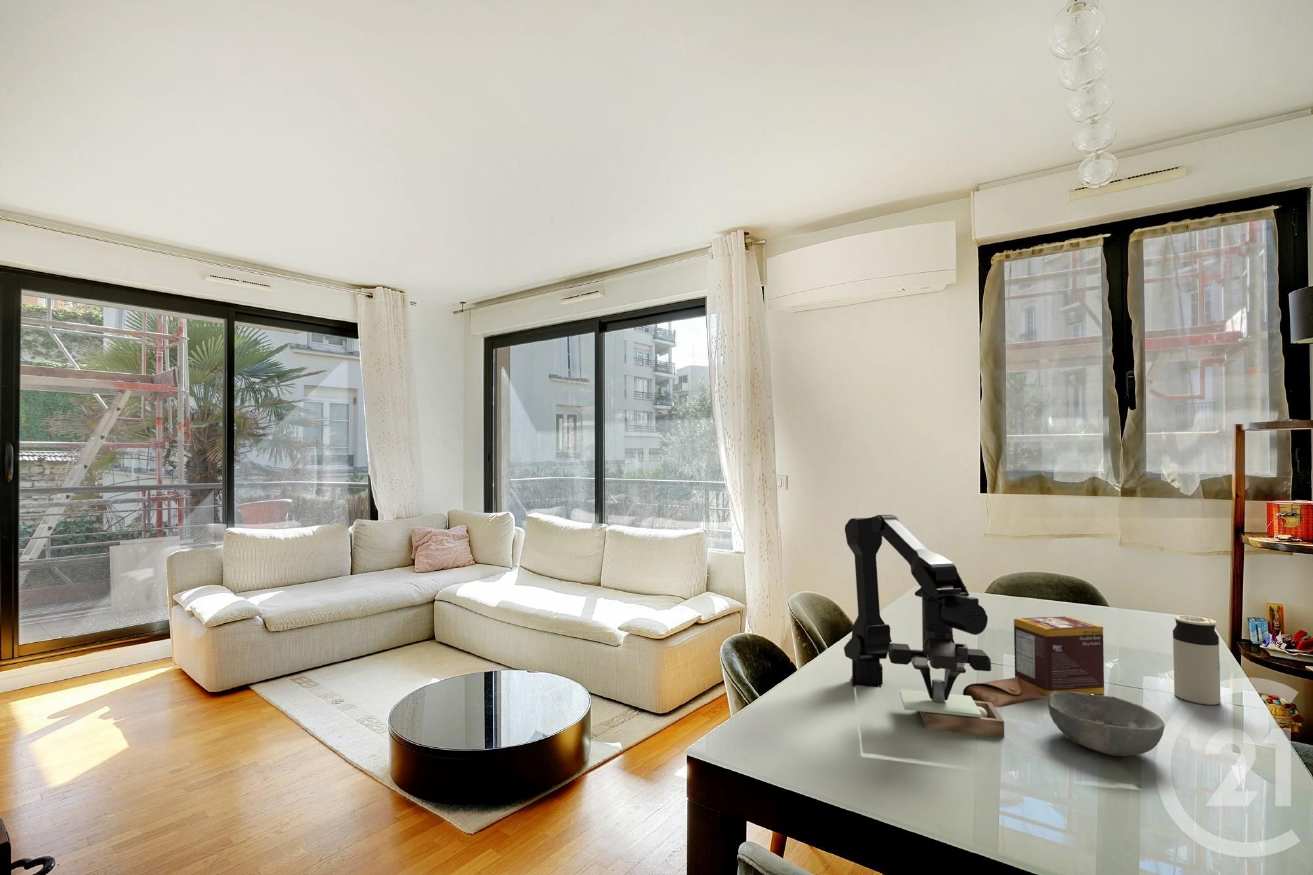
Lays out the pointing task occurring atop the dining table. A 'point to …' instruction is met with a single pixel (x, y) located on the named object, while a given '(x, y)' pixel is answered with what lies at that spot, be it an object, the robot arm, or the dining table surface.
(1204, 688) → the travel mug
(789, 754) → the dining table surface
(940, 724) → the box
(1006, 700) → the sunglasses case
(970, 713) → the lid
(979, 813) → the dining table surface
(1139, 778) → the dining table surface
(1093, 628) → the supplement box
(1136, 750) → the bowl
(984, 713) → the ball
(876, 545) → the robot arm
